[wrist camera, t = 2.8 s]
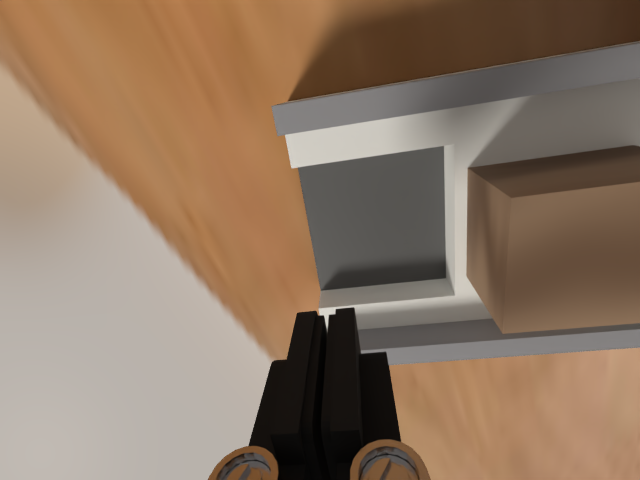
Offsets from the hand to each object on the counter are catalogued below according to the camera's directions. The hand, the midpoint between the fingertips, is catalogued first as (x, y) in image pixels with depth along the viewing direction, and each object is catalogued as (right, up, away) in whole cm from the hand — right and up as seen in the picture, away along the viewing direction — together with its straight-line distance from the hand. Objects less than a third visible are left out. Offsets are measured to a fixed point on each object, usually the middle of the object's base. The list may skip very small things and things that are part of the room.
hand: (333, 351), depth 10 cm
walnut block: (+9, +4, +4) cm, 11 cm away
